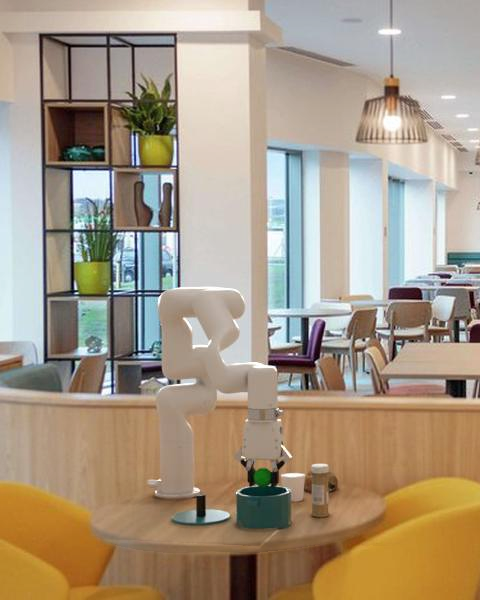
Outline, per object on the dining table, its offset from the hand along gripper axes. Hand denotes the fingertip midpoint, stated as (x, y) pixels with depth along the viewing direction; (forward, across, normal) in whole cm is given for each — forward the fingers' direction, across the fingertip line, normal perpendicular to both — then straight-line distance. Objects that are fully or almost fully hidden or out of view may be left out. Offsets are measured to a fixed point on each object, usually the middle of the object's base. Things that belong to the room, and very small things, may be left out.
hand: (263, 485), depth 270 cm
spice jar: (+10, -12, -11) cm, 19 cm away
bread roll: (+10, -4, -42) cm, 43 cm away
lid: (+9, +17, -1) cm, 19 cm away
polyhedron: (+1, 0, 0) cm, 1 cm away
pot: (+10, 0, 0) cm, 10 cm away
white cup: (+10, 0, -28) cm, 30 cm away
